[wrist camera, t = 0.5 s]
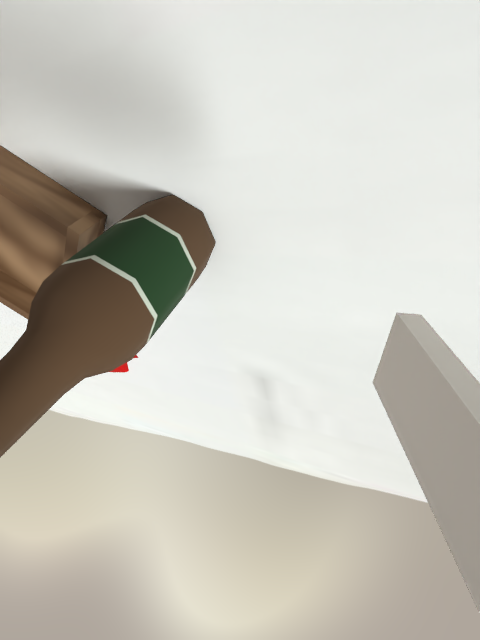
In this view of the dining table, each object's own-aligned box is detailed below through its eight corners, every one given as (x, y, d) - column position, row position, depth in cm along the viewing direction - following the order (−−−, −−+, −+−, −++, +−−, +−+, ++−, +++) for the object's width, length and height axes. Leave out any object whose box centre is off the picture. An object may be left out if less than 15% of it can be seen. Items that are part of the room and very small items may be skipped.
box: (-63, 104, 33) (-107, 114, 31) (106, 215, 35) (79, 234, 32) (-39, 243, 46) (-69, 259, 43) (84, 320, 47) (62, 341, 45)
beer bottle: (148, 261, 37) (-82, 487, 20) (133, 185, 31) (-194, 402, 15) (219, 277, 35) (31, 542, 18) (216, 198, 29) (-53, 468, 13)
